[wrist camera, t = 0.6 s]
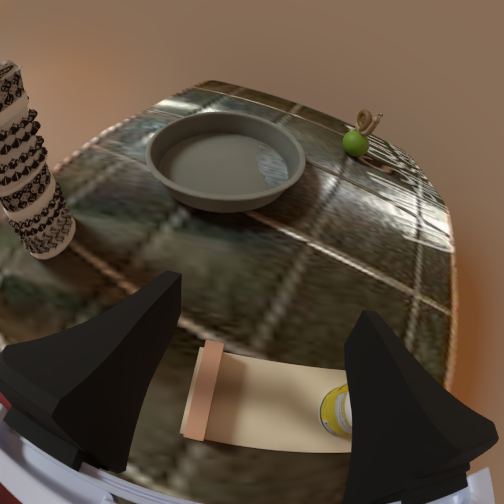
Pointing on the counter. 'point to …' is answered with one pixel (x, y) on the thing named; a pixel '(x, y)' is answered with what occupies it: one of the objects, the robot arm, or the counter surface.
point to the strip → (260, 403)
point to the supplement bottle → (336, 412)
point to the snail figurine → (360, 134)
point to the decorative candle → (29, 174)
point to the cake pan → (221, 160)
